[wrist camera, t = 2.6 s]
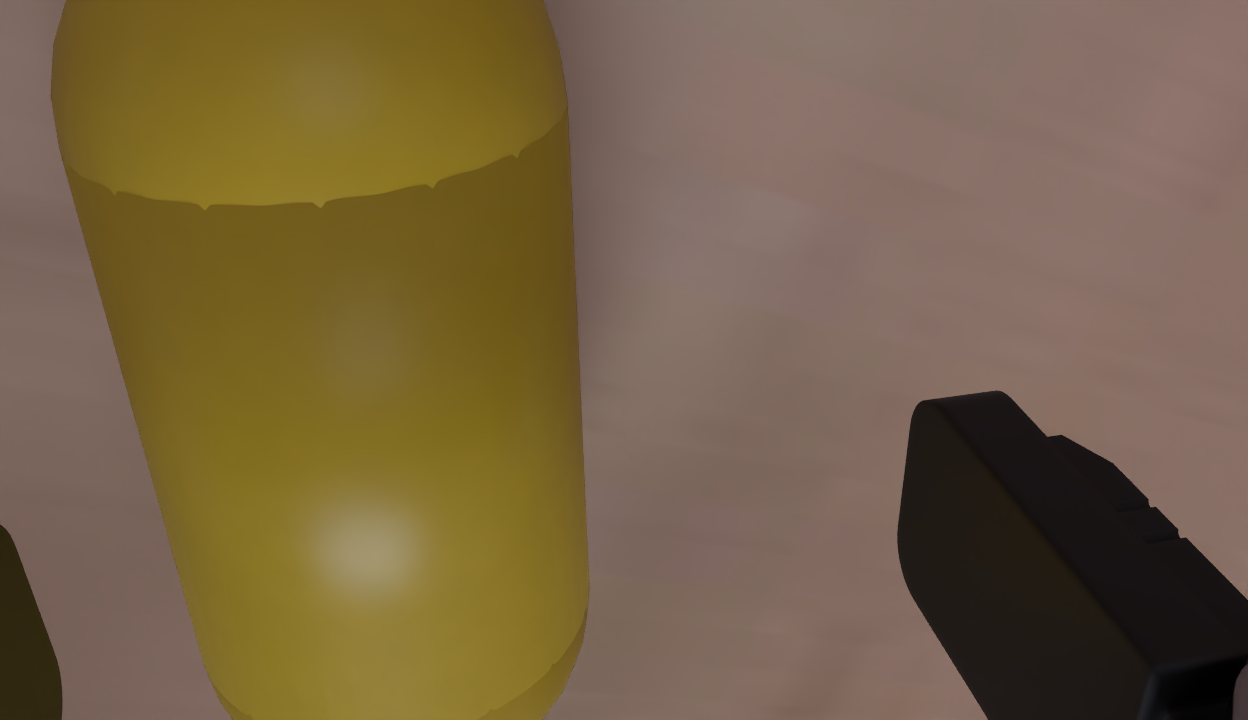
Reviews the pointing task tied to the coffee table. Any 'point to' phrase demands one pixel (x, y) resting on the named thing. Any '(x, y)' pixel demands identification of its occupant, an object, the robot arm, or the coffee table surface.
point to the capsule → (345, 338)
